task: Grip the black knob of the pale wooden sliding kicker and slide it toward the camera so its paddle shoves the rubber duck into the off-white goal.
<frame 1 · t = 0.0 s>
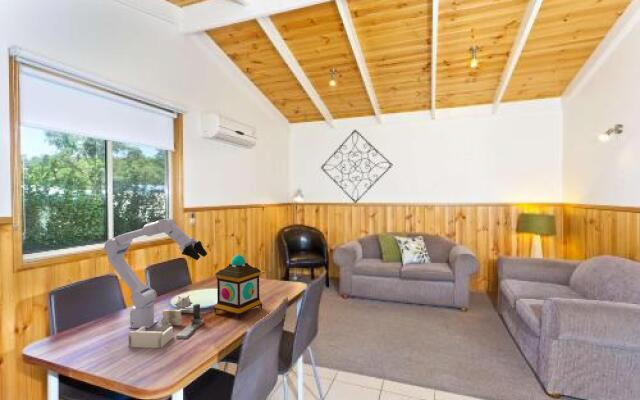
hand: (202, 256, 145), 32 cm above the table, tool tilted 50°, fingers open, 7 cm apart
decorative lantern: (238, 312, 163), on the table
game die: (183, 311, 163), on the table
goal: (152, 341, 130), on the table
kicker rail: (190, 329, 141), on the table
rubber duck: (164, 332, 139), on the table
kicker: (182, 314, 147), point 5 cm above the table, slide at 0.0 cm
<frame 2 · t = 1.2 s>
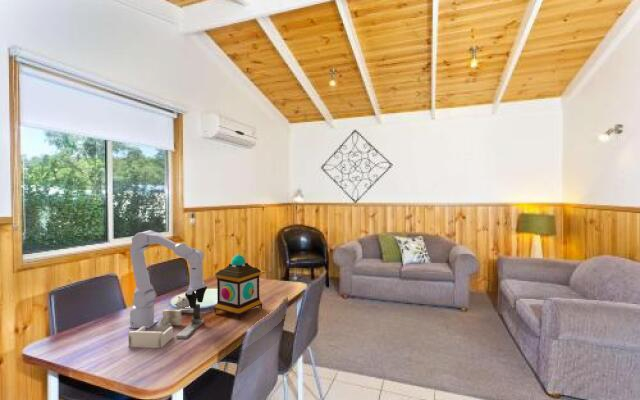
hand: (196, 305, 147), 9 cm above the table, tool pointing down, fingers open, 7 cm apart
nothing on the table moved.
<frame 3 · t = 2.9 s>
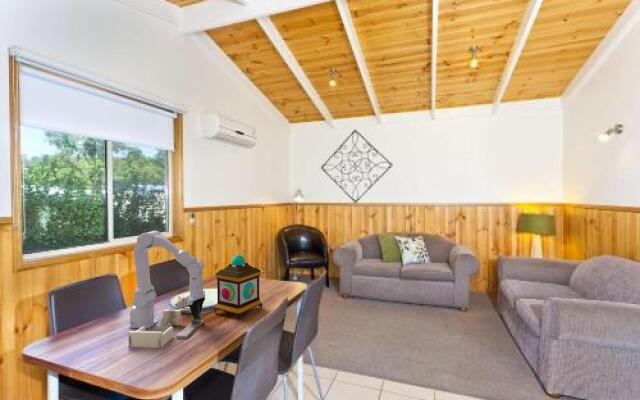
hand: (196, 314, 147), 5 cm above the table, tool pointing down, fingers closed on kicker, 3 cm apart
kicker: (182, 314, 147), point 5 cm above the table, slide at 0.0 cm, touching gripper
everything else where it was.
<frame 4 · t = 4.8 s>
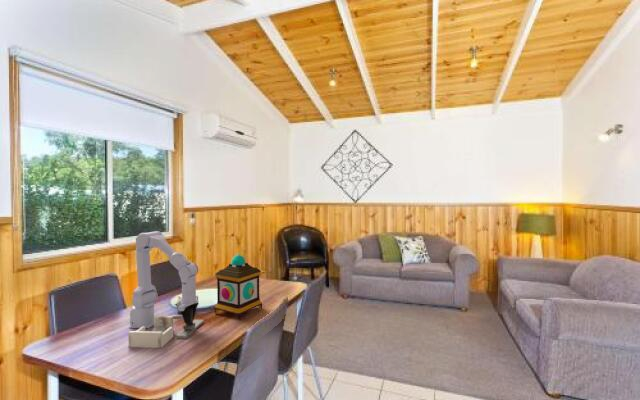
hand: (189, 321, 139), 5 cm above the table, tool pointing down, fingers open, 3 cm apart
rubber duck: (159, 335, 135), on the table, touching kicker
kicker: (174, 320, 139), point 5 cm above the table, slide at 7.4 cm, touching gripper, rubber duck
everything else where it was.
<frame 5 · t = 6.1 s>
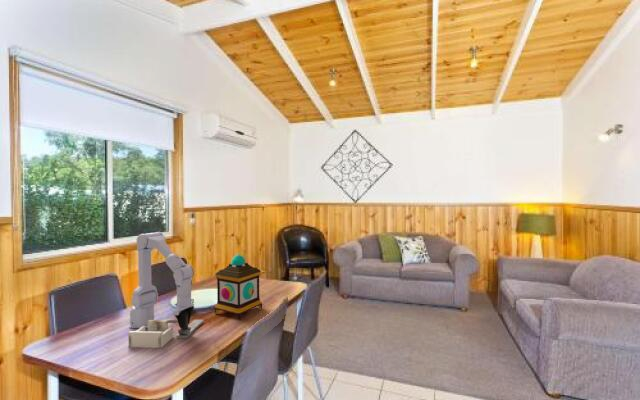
hand: (184, 325, 135), 5 cm above the table, tool pointing down, fingers open, 3 cm apart
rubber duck: (153, 340, 131), on the table, touching kicker
kicker: (169, 325, 135), point 5 cm above the table, slide at 11.9 cm, touching gripper, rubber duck
everything else where it was.
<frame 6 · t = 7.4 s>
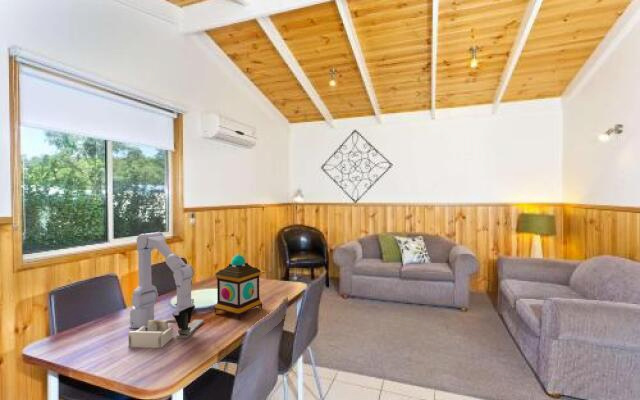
hand: (184, 325, 135), 4 cm above the table, tool pointing down, fingers open, 5 cm apart
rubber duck: (152, 340, 131), on the table
kicker: (169, 325, 135), point 5 cm above the table, slide at 12.0 cm
everything else where it was.
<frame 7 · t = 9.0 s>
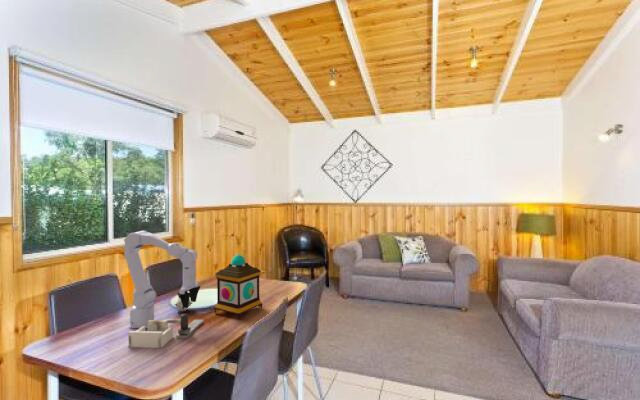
hand: (189, 304, 147), 9 cm above the table, tool pointing down, fingers open, 7 cm apart
nothing on the table moved.
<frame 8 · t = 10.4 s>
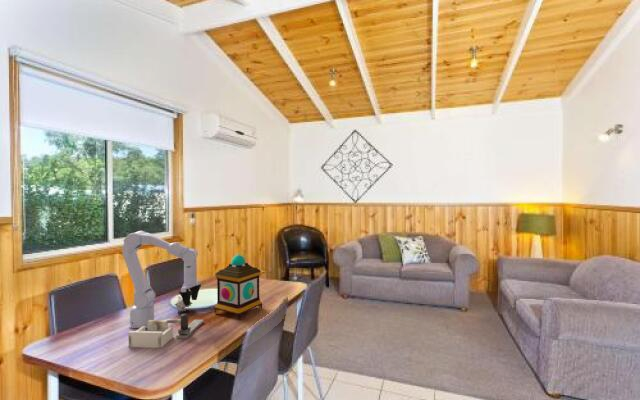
hand: (190, 302, 150), 9 cm above the table, tool pointing down, fingers open, 7 cm apart
nothing on the table moved.
at the end: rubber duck inside the target area (1.6 cm from its centre), on the table; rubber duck tilted 0°; kicker slide at 12.0 cm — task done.
